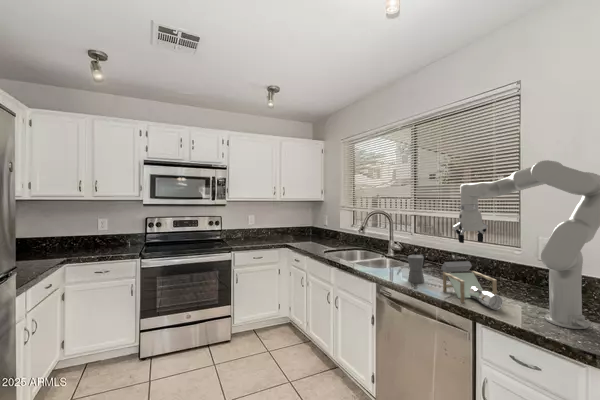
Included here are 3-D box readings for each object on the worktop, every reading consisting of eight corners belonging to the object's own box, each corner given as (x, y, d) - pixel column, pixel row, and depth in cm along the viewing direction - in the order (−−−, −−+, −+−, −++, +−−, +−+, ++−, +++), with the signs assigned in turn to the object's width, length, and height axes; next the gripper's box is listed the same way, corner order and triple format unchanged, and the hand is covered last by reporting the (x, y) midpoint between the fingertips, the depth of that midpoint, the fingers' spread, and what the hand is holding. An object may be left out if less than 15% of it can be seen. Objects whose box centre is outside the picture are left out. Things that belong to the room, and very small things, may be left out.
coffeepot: (415, 285, 167) (415, 254, 167) (402, 281, 175) (401, 251, 175) (432, 280, 175) (431, 251, 175) (418, 277, 183) (418, 248, 183)
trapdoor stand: (497, 301, 139) (496, 279, 139) (461, 302, 138) (461, 281, 138) (474, 290, 156) (474, 270, 156) (443, 291, 155) (442, 272, 155)
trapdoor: (484, 299, 146) (488, 294, 142) (457, 300, 145) (460, 295, 142) (465, 266, 160) (469, 261, 157) (441, 267, 160) (444, 262, 156)
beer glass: (465, 288, 143) (486, 297, 128) (478, 283, 144) (500, 292, 129) (470, 301, 143) (491, 312, 128) (482, 296, 144) (505, 307, 129)
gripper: (457, 209, 140) (458, 244, 140) (491, 207, 141) (493, 242, 141) (448, 208, 148) (449, 242, 148) (481, 207, 149) (482, 240, 148)
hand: (470, 242), depth 144 cm, fingers open, 9 cm apart
